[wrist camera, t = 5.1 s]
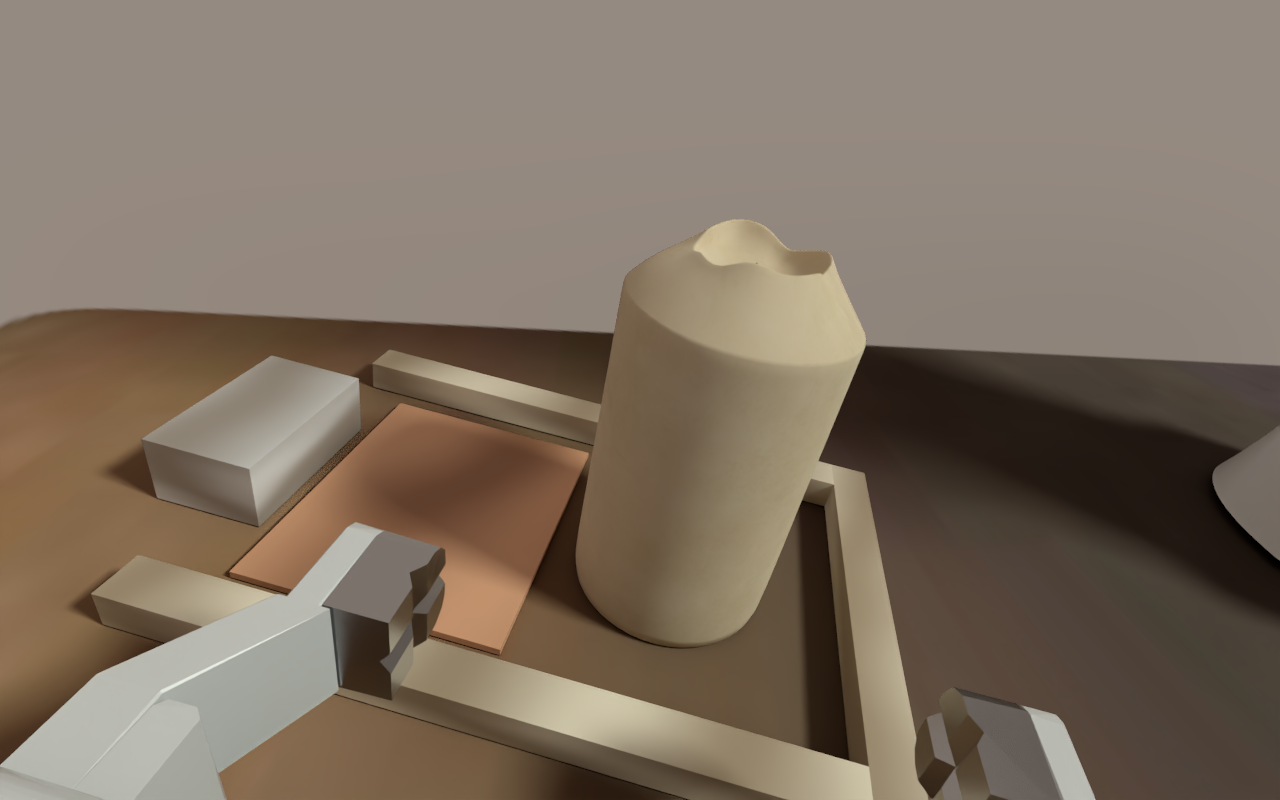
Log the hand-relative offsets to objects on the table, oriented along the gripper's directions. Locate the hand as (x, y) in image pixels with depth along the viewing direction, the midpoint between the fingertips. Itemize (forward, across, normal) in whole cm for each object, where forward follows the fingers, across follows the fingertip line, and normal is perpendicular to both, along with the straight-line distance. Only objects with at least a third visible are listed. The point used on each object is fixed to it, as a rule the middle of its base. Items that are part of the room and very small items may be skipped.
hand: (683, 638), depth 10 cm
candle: (+7, 0, +6) cm, 9 cm away
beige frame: (+7, +4, +5) cm, 9 cm away
